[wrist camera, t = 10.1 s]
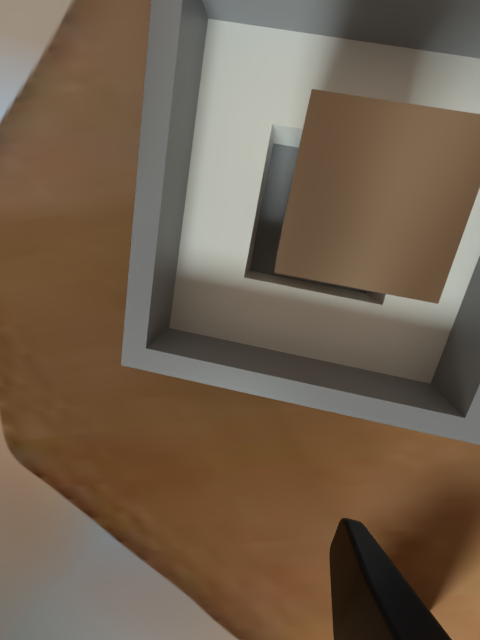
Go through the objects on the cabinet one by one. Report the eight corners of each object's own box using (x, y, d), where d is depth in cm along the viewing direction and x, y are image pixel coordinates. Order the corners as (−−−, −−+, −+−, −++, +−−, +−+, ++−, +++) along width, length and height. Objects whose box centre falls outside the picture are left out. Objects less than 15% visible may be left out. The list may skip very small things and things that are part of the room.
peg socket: (514, 89, 15) (697, -24, 9) (411, 372, 19) (481, 445, 13) (208, 42, 16) (159, -92, 10) (173, 321, 20) (120, 365, 14)
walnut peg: (371, 186, 16) (504, 117, 7) (350, 264, 17) (438, 303, 8) (293, 173, 16) (311, 88, 7) (277, 251, 18) (274, 272, 8)
